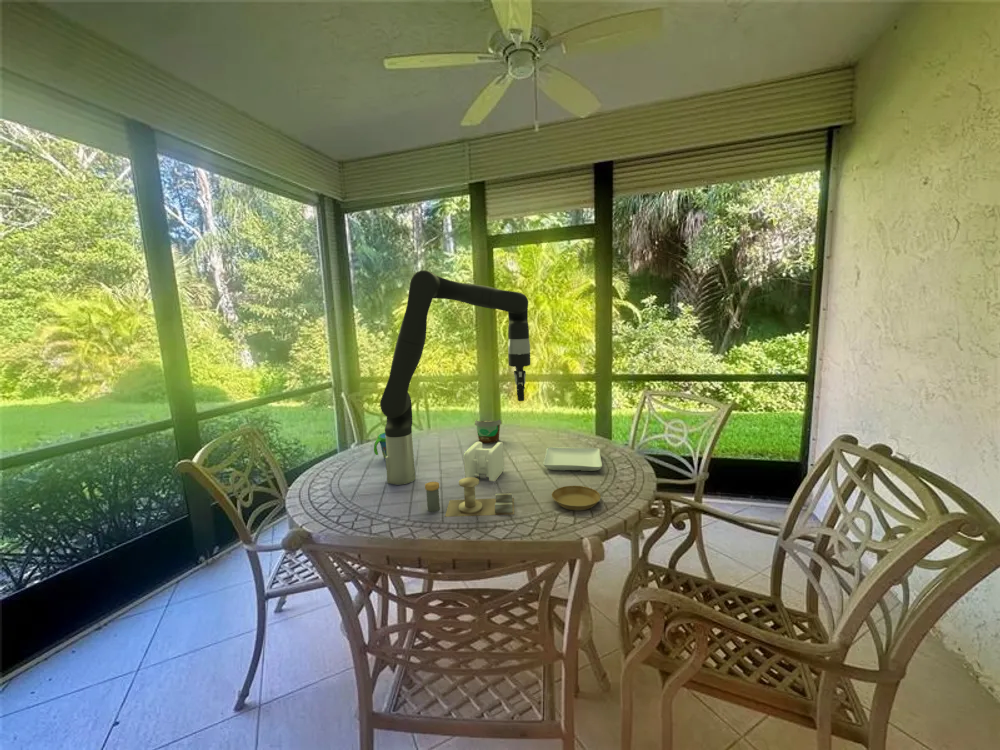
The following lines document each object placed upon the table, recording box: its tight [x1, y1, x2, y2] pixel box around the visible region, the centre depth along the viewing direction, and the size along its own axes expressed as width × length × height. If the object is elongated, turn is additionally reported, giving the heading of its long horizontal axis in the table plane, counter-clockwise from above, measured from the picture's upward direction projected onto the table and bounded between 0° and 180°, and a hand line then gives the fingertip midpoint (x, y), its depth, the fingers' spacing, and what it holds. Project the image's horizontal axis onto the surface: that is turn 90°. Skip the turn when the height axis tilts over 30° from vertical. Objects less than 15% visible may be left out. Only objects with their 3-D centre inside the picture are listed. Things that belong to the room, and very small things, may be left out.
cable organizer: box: [462, 441, 505, 482], centre depth 156 cm, size 15×11×12 cm
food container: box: [474, 419, 502, 444], centre depth 197 cm, size 12×6×10 cm, turn 80°
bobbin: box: [458, 477, 482, 513], centre depth 129 cm, size 7×7×8 cm
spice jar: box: [424, 481, 441, 513], centre depth 129 cm, size 4×4×9 cm
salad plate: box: [542, 446, 603, 472], centre depth 166 cm, size 21×21×3 cm
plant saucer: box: [551, 485, 601, 512], centre depth 133 cm, size 15×15×3 cm
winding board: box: [444, 492, 515, 518], centre depth 130 cm, size 20×11×4 cm, turn 89°
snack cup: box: [373, 432, 387, 460], centre depth 181 cm, size 16×11×10 cm
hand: (520, 398), depth 151 cm, fingers open, 8 cm apart
